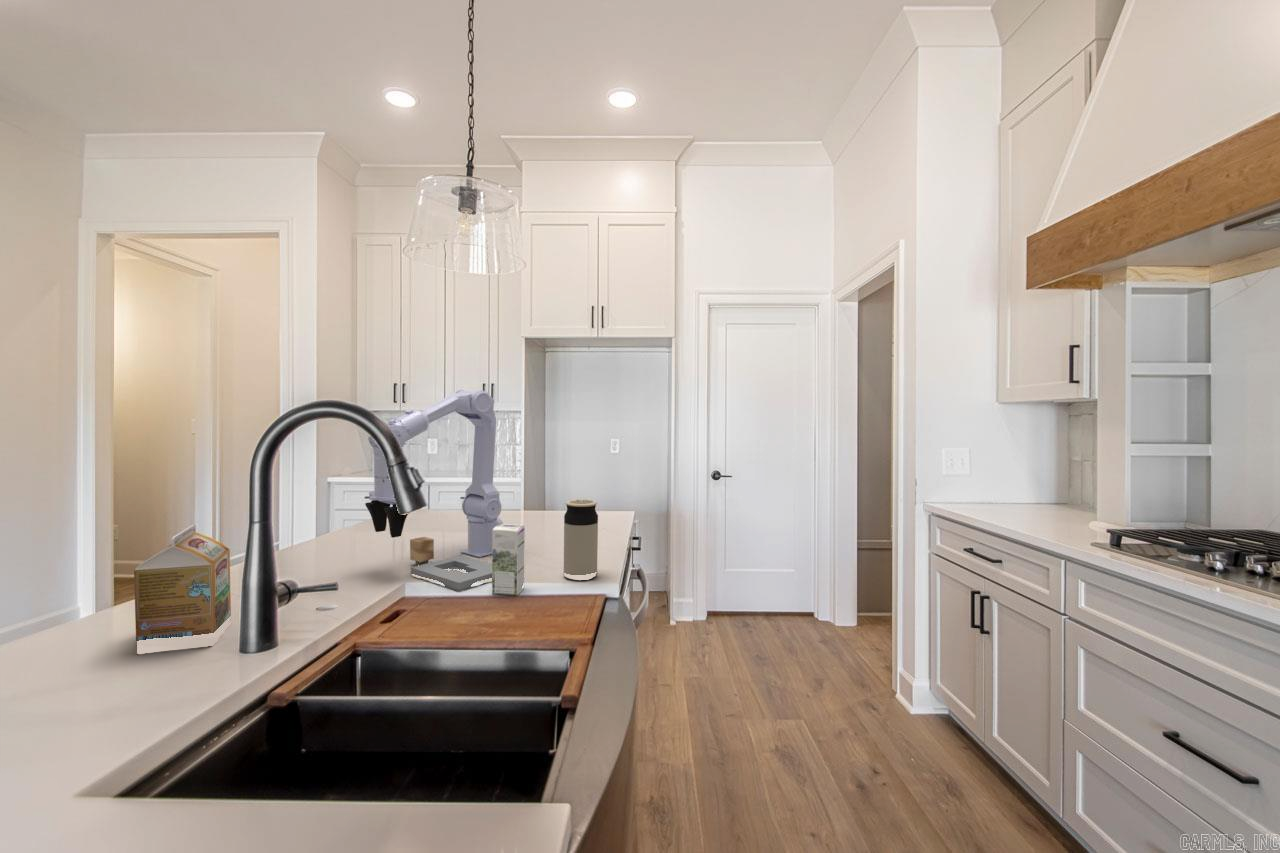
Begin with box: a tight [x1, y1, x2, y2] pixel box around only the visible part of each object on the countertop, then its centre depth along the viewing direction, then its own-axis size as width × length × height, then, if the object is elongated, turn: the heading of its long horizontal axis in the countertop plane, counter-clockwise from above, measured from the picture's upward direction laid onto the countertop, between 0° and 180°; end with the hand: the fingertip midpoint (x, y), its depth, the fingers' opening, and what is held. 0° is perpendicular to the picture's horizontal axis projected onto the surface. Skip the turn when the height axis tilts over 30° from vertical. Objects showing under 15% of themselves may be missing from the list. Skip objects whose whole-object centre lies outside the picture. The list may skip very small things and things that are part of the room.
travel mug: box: [563, 498, 599, 575], centre depth 143 cm, size 8×8×18 cm
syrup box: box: [491, 523, 526, 596], centre depth 132 cm, size 6×6×14 cm
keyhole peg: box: [409, 536, 435, 566], centre depth 151 cm, size 4×4×6 cm
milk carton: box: [133, 524, 232, 642], centre depth 104 cm, size 11×11×19 cm
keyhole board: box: [410, 554, 492, 593], centre depth 142 cm, size 14×18×2 cm
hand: (388, 533), depth 141 cm, fingers open, 7 cm apart
